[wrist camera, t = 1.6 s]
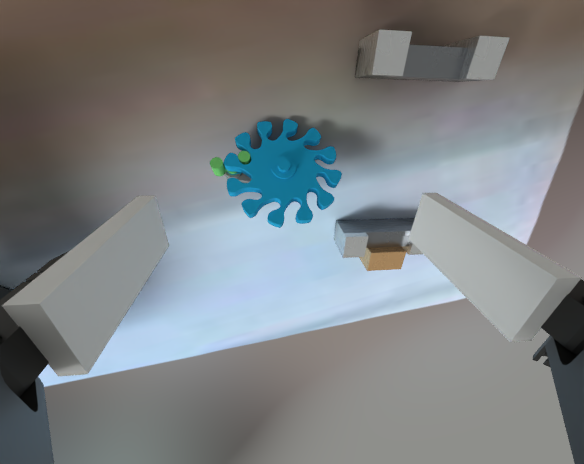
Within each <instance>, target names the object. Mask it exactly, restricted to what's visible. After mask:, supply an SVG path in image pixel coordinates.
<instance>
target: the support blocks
mask: <svg viewBox="0 0 584 464" xmlns="http://www.w3.org/2000/svg"><path fill="white" fill-rule="evenodd" d="M411 35H412V31H396V30H380V29H379V30H377V31H376V32H374V33H372V34H370V35H368V36H366V37H365V38H363V39H361V40H360V42H359V50H358V58H357V65H356V73H355V78H377V79H403V80H429V81H455V82H463V81H479V80H494V79H495V76H496V73H497V71H498V68H499V65H500V63H501V60H502V57H503V55H504V52H505V49H506V46H507V44H508V41H509V37H493V36H477V37H473V38H469V39H466V40H462V41H458V42H454V43H451V44H447V45H445V47H443V46H425V45H409V44H410V39H411ZM414 220H415V218H404V219H368V220H336V226H335V234H334V241H335V243H336V245H337V247H338V249H339V251H340V253H341V255H342V257H343V258H348V257H359V258H360V260H361V261H362V263H363V265H364V266H365V268H366V270H367V271H371V270H391V269H401V267H402V264H403V260H404V257H405V254H406V252H407V253H408V254H409V255H415V254H423V253H422V252H421V251H420V250H419V249H418V248H417V247H416V246H415V245H414V244H413V243H412V242H411V241H410V240H409V236H410V233H411V229H412V226H413V223H414Z"/></svg>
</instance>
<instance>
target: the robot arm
mask: <svg viewBox="0 0 584 464" xmlns="http://www.w3.org/2000/svg"><path fill="white" fill-rule="evenodd" d="M409 240H410V241H411V242H412V243H413V244H414V245H415V246H416V247H417V248H418V249H419V250H420V251H421V252H422V253H423V254H424V255H425V256H426V257H427V258H428V259H429V260H430V261H431V262H432V263H433V264H434V265H435V266H436V267H437V268H438V269H439V270H440V271H441V272H442V273H443V274H444V275H445V276H446V277H447V278H448V279H449V280H450V281H451V282H452V283H453V284H454V285H455V287H456V288H457V289H458V290H459V291H460V292H461V293H462V294H463V295H464V296H465V297H466V298H467V299H468V300H469V301H470V302H471V303H472V304H473V305H474V306H475V307H476V308H477V309H478V310H479V311H480V312H481V313H482V314H483V315H484V316H485V317H486V318H487V319H488V320H489V321H490V322H491V323H492V324H493V325H494V326H495V327H496V328H497V329H498V330H499V331H500V332H501V333H502V334H503V335H504V336H505V337H506V338H507V339H508V340H509V341H510V342H520V341H531V340H532V339H533V338H534V336H535V335H536V334H537V333H538V331H539V330H540V329H541V328H542V329H544V330H545V331H546V332H547V333H548V334H550V336H549V337H548V339H547V340H546V341H545V342H544V343H543V344H542V346H541V347H540V348H539V349H538V350H537V352H536V353H535V354H534V355H533V360H535V361H538V360H539V359H540V357H541V356H547V357H548V359H547V360H546V361H545V362H544V363H543V364H544V365H546V366H549V367H551V371H552V375H553V379H554V383H555V387H556V391H557V395H558V398H559V403H560V407H561V411H562V415H563V419H564V423H565V427H566V431H567V434H568V439H569V442H570V446H571V450H572V454H573V458H574V462H575V464H584V281H583V280H581V278H582V277H580V276H579V275H577V274H575V273H573V272H572V271H570V270H568V269H567V268H565V267H563V266H561V265H560V264H558V263H556V262H554V261H553V260H551V259H549V258H548V257H546V256H544V255H542V254H541V253H539V252H537V251H536V250H534V249H532V248H530V247H529V246H527V245H525V244H524V243H522V242H520V241H518V240H517V239H515V238H513V237H512V236H510V235H508V234H506V233H505V232H503V231H501V230H500V229H498V228H496V227H494V226H493V225H491V224H489V223H488V222H486V221H484V220H482V219H481V218H479V217H477V216H475V215H474V214H472V213H470V212H469V211H467V210H465V209H463V208H462V207H460V206H458V205H457V204H455V203H453V202H451V201H450V200H448V199H446V198H445V197H443V196H441V195H439V194H438V193H423V194H422V197H421V200H420V204H419V207H418V210H417V213H416V217H415V220H414V223H413V226H412V229H411V233H410V236H409ZM168 247H169V244H168V240H167V236H166V233H165V229H164V225H163V222H162V218H161V214H160V211H159V207H158V203H157V200H156V196H137V197H136V198H135V199H134V200H132V201H131V202H130V203H129V204H127V205H126V206H125V207H124V208H122V209H121V210H120V211H119V212H117V213H116V214H115V215H114V216H113V217H111V218H110V219H109V220H108V221H106V222H105V223H104V224H103V225H101V226H100V227H99V228H98V229H96V230H95V231H94V232H93V233H91V234H90V235H89V236H88V237H86V238H85V239H84V240H83V241H81V242H80V243H79V244H78V245H76V246H75V247H74V248H73V249H72V250H70V251H68V252H66V253H64V254H62V255H60V256H59V257H57V258H55V259H53V260H51V261H49V262H48V263H47V264H46V265H44V266H43V267H42V268H40V269H39V270H38V272H37V273H34V274H33V275H31V276H30V277H29V278H28V279H26V282H23V283H21V284H20V285H19V286H17V287H16V288H15V289H14V290H12V291H11V290H8V289H6V288H3V287H0V464H54V460H53V453H52V445H51V437H50V430H49V422H48V415H47V408H46V400H45V393H44V385H43V383H42V382H41V380H40V379H39V378H38V376H39V374H40V373H41V372H42V371H43V369H44V368H45V367H46V366H47V364H49V365H50V367H51V368H52V369H53V370H54V372H55V373H56V374H57V375H58V376H70V375H83V374H88V373H89V371H90V370H91V368H92V367H93V365H94V364H95V362H96V360H97V359H98V357H99V356H100V354H101V353H102V351H103V349H104V348H105V346H106V345H107V343H108V341H109V340H110V338H111V337H112V335H113V334H114V332H115V330H116V329H117V327H118V326H119V324H120V322H121V321H122V319H123V318H124V316H125V315H126V313H127V311H128V310H129V308H130V307H131V305H132V304H133V302H134V300H135V299H136V297H137V296H138V294H139V292H140V291H141V289H142V288H143V286H144V285H145V283H146V281H147V280H148V278H149V277H150V275H151V273H152V272H153V270H154V269H155V267H156V266H157V264H158V262H159V261H160V259H161V258H162V256H163V254H164V253H165V251H166V250H167V248H168Z"/></svg>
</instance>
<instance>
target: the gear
mask: <svg viewBox="0 0 584 464" xmlns="http://www.w3.org/2000/svg"><path fill="white" fill-rule="evenodd" d="M297 127H298V124H297V123H296V122H294V121H292V120H289V119H286V120H285V121H284V122H283V132H282V134H281V135H280V136H279V137H278V138H277V139H276V140H274V141H271V140H269V139H268V138H269V137H270V136H271V134H272V124H271V122H268V121H262V122H258V123H257V130H258V134H259V136H260V137H261V139H262V144H261V147H260V148H258V149H253V148H251V140H250V135H249V134H248V133H246V132H245V133H242V134H240V135H238V136H237V137H235V141H236V146H237V147H238V149H240V150H242V151H241V152H240V153H239V154H238V156H237V155H236V154H234V153H229V154H228V155H227V156H226V158H225V160H224V164H223V161H222V159H221V158H218V157H215V158H213V159H212V160H211V161H210V165H211V167H212V170H213V172H214V174H215V175H216V176H223V175H224V174H225V175H226V177H227V178H228V180H227V189H228V193H229V195H230V196H238V195H239V194H241V193H244V192H257V193H260V194H261V195H262V197H261V198H260V199H259V200H253V199H247V200H244V201H243V202H242V207H243V210H244V212H245V213H246V214H247V216H248V217H249V218H252V217H254V216H256V214H257V213H258V211H259V210H260V208H262V207H263V206H264V205H266V204H268V203H271V202H278V203H279V204H280V206H281V207H280V208H279V209H277V210H274V211H271V212H270V213H269V215H268V223H269V224H271V225H273V226H275V227H279V228H280V227H281V226H282V225H283V223H284V212H285V210H286V208H287V207H288V205H289V204H290V203H291V202H294V201H296V202H298V203H299V204H300V205H301V208H300V209H299V210H298V212H297V214H296V222H297V223H302V224H303V223H309V222H311V220H312V217H313V214H312V211H311V210H310V209H309V207H308V204H307V200H306V199H307V193H309V192H314V193H315V194H316V195H317V206H318V207H319V208H320V209H321V210H323V209H326V208H327V207H329V206H330V205H331V204H332V203H333V201H334V197H333V196H332V194H330V193H328V192H326V191H325V190H323V189H322V188H321V187H320V185H319V183H318V182H317V179H316V177H319V176H320V177H323V178H324V179H325V181H326V183H327V185H328V186H330V187H332V188H335V187H336V186H337V184H338V182H339V181H340V179H341V175H342V173H341V172H340V171H338V170H329V169H325V168H323V167H321V166H320V165H318V164H317V163H316V162H315V160H317V159H319V160H321V161H323V162H324V163H326V164H333V163H334V161H335V159H336V151H335V148H334V147H331V146H329V147H326V148H325V149H322V150H309V149H306V148H305V147H304V146H305V145H310V146H316V145H318V144H319V142H320V139H321V135H320V133H319V132H318V131H317V130H316V129H315V128H311V129H309V130H308V132H307V133H306V135H305V136H304V137H302V138H300V139H298V140H294V141H290V140H288V139H287V138H288V137H291V136H294V135H295V134H296V133H297ZM242 182H244V183H242Z"/></svg>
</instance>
